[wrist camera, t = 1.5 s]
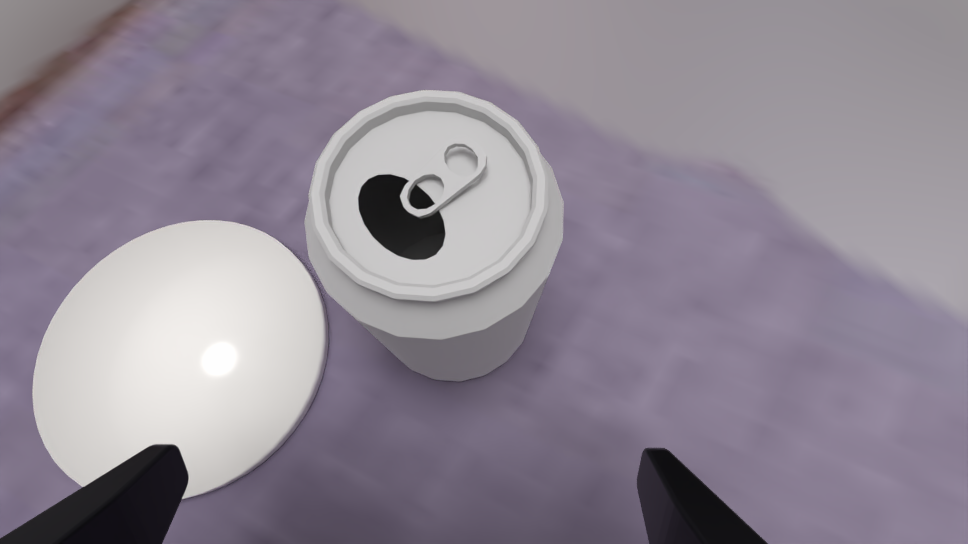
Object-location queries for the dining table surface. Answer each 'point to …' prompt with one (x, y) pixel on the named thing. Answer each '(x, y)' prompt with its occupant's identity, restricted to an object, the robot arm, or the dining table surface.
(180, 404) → the plate
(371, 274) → the can
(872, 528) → the dining table surface
